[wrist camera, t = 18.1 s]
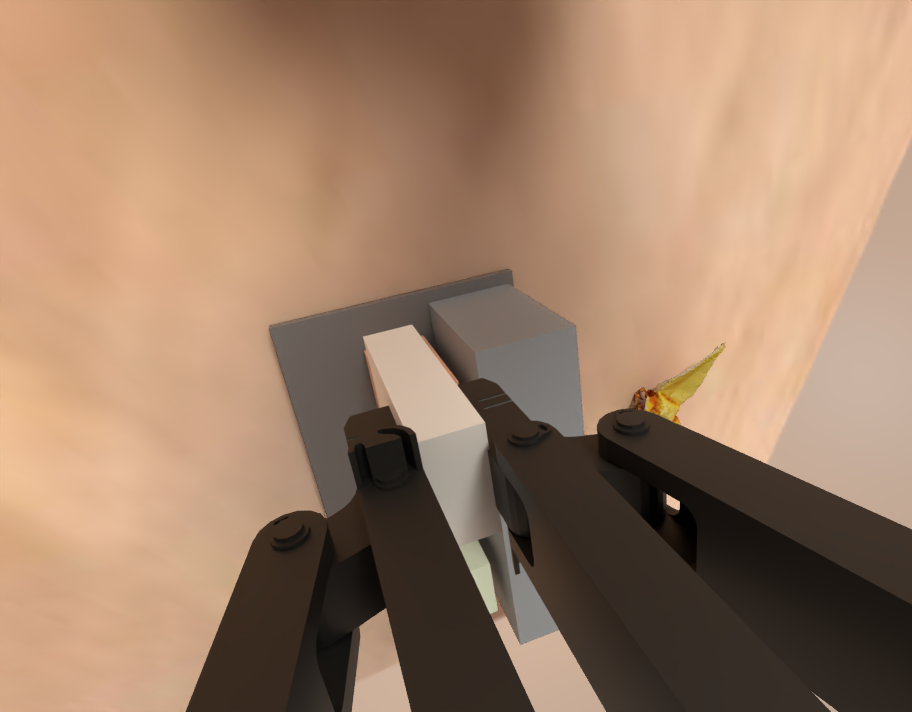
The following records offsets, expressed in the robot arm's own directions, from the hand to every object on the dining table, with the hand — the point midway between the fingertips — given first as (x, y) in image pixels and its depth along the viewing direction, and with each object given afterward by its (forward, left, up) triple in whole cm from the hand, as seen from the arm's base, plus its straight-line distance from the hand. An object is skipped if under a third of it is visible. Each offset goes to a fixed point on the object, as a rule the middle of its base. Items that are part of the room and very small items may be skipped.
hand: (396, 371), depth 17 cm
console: (+17, -12, -28) cm, 35 cm away
